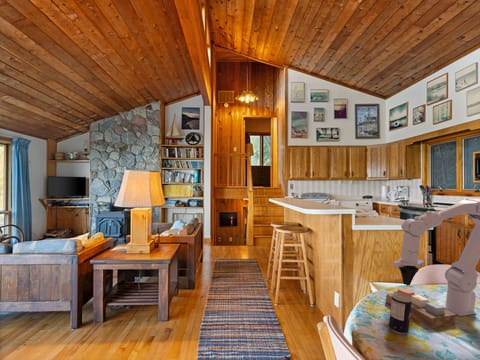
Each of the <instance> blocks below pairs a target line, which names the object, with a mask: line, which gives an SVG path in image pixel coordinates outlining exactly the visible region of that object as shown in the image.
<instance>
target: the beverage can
mask: <svg viewBox="0 0 480 360" xmlns="http://www.w3.org/2000/svg"><path fill="white" fill-rule="evenodd" d="M393 293H394V294H393V295H392V300H391V305H390V313H389V321H388V326H389V328H390V329H391V331H392V332H393V333H395V334H398V335H405V334H406V333H408V332H409V330H410V319H411V317H410V312H411V303H412V301H411V297H410V296H409V295H408V294H405V293H402V292H398V291H394V292H393Z"/></svg>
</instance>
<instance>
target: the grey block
mask: <svg viewBox="0 0 480 360" xmlns="http://www.w3.org/2000/svg"><path fill="white" fill-rule="evenodd" d="M429 302H430V303H426V308H425V310H426V311H428V312H430V313H432V314H434V315H436V316H438V315H444V310H445V307H443V306H441V305H442V304H439V303H437V302H434V301H429Z"/></svg>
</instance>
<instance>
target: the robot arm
mask: <svg viewBox="0 0 480 360" xmlns="http://www.w3.org/2000/svg"><path fill="white" fill-rule="evenodd" d="M462 214H465V215H467V216H468V217H470V218H471V220H472V221H473V223H474V224H475V225H474V227H473V228H472V231H471V233H470V235H469V238H468V240H467V241H466V244H465V246H464V249H463V251H462V252H461V255H460V256H459V258H458V261H454V262H452V263H451V265H450V266H449V267H448V269H446V270H445V272H444V278H445V280H446V281H447V289H446V297H445V298H446V300H445V304H440V305H441V306H443V307H445V309H446V310H448V311H450V312H452V313H454V314H456V316H459V317H463V316H471V315H477V312H476V311H475V307H476V306H475V305H476V299H477V298H476V297H477V296H476V293H475V289H476V288H477V286H478V284H477V281H478V277H479V274H478V271H477V270H476V267H477V265H478V263H479V261H480V199H479V198H475V197H468V198H466V199H462V200H460V201H459V202H457V203H455V204H452V205H450V206H448V207H446V208H444V209H442V210H439V211H438V212H436V211H433V210H432V211H431V210H427V211H425V213H424V214H421V215H419V216H414V218H407V219H405V220H404V221H403V223H402V224H401V229H402V232H403V237H402V247H401V248H402V249H401V256H400V257H399V258H398V260H397V259H396V260H395V261H392V267H394V268H396V269H399V271H400V273H401V278H402V284H404V285H405V286H410V285H411V283H412V281H413V280H414V277H415V276H416V274H417V273H418V272H419V268H418V267H425V262H426V261H425V260H422V259H419V254H420V247H421V246H420V245H421V236H423V235H424V234H425V232H426V231H428V230H431V229H433V228H435V227H438V226H441V225H442V223H443V221H444V220H448V219H451V218H454V217H457V216H460V215H462Z"/></svg>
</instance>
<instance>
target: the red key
mask: <svg viewBox="0 0 480 360" xmlns="http://www.w3.org/2000/svg"><path fill="white" fill-rule="evenodd" d="M397 292H402V293H405V294H408V295H409V296H410V297H411V296H414V294H415V292H414V291H411V290H409V289H407V288H406V287H405V288H398V289H397Z"/></svg>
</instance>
